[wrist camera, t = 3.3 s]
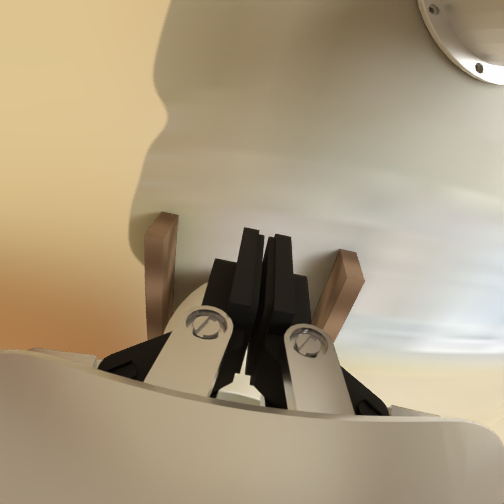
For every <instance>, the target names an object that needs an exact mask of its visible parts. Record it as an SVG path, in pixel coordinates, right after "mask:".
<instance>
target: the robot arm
mask: <svg viewBox="0 0 504 504" xmlns="http://www.w3.org/2000/svg"><path fill="white" fill-rule="evenodd" d="M417 2H418V7H419V10H420V12H421V15H422V18H423V20H424V23H425V25H426V27H427V28H428V30H429V32H430V34H431V36H432V38H433V39H434V40H435V42H436V43H437V45H438V46H439V47H440V49H441V50H442V51H443V52H444V53H445V55H446V56H447V57H448V58H449V59H450V60H451V61H452V62H453V63H454V64H455V65H457V66H458V67H459V68H460V69H461V70H462V71H464V72H466V73H467V74H469V75H470V76H472V77H474V78H476V79H478V80H481V81H484V82H486V83H491V84H495V85H504V0H417ZM429 8H430V9H431V11H432V13H430V11H429ZM475 67H476V69H475ZM263 248H264V235H260V234H259V230H255V229H250V228H245V227H244V231H243V236H242V241H241V246H240V251H239V256H238V261H237V263H236V262H231V261H226V260H221V259H215V261H214V264H213V267H212V271H211V274H210V277H209V281H208V284H207V287H206V291H205V294H204V298H203V301H202V304H201V306H196V307H192V308H190V309H188V310H187V311H185V312H184V314H183V315H182V316H181V318H180V319H179V321H178V323H177V325H176V326H175V328H174V330H173V331H171V332H168V333H166V334H163V335H161V336H158V337H155V338H153V339H150V340H148V341H145V342H143V343H140V344H137V345H135V346H132V347H130V348H127V349H124V350H122V351H119V352H116V353H114V354H111V355H110V356H107V357H106V358H104V359H96V356H95V355H88V354H80V353H71V352H64V351H56V350H50V349H42V348H32V349H29V350H8V349H6V350H0V504H504V445H503V443H502V441H501V440H500V438H499V436H498V435H497V434H496V433H495V432H494V431H492V430H491V429H489V428H488V427H486V426H484V425H481V424H478V423H476V422H473V421H469V420H464V419H459V418H449V417H441V416H438V415H434V414H429V413H424V412H420V411H415V410H411V409H407V408H402V407H398V406H394V405H391V406H390V408H388V407H386V405H385V404H384V403H383V402H382V400H381V399H379V398H378V397H377V396H376V395H375V394H373V393H372V392H371V391H370V390H369V389H367V388H366V387H365V386H364V385H363V384H362V383H360V382H359V381H358V380H357V379H356V378H354V377H353V376H352V375H351V374H350V373H348V372H347V371H346V370H345V369H344V368H343V367H341V366H340V363H339V360H338V357H337V354H336V351H335V348H334V344H333V342H332V340H331V338H330V336H329V335H328V334H327V333H326V332H325V331H323V330H322V329H320V328H319V327H316V326H313V325H311V314H310V303H309V293H308V283H307V277H306V276H302V275H297V274H293V261H292V243H291V237H289V236H285V235H280V234H275V237H269V238H268V242H267V246H266V250H265V254H264V258H263ZM262 259H263V262H262ZM247 347H248V348H247ZM246 350H247V357H246V366H245V375H249V376H250V385H251V386H254V387H255V388H256V389H257V390H258V391H259V392H260V393H261V396H260V406H257V405H250V404H244V403H238V402H232V401H226V400H221V399H217V398H218V395H219V391H220V389H221V388H223V387H225V386H227V385H229V384H230V383H232V382H233V379H234V376H235V373H237V374H240V371H241V368H242V364H243V361H244V357H245V354H246Z"/></svg>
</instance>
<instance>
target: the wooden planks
mask: <svg viewBox="0 0 504 504" xmlns="http://www.w3.org/2000/svg"><path fill="white" fill-rule="evenodd" d="M177 225H178V215H175V214H170V213H165V212H161V214H160V215H159V216H158V218H157V219H156V220H155V222H154V223H153V225H152V226H151V227H150V229H149V230H148V232H147V233H146V234H145V296H146V319H147V335H148V340H150V339H153V338H155V337H158V336H161V335H163V334H164V331H165V329H166V326H167V324H168V322H169V321H170V319H171V317H172V316H173V292H174V271H175V254H176V239H177ZM364 282H365V280H364V277H363V273H362V270H361V267H360V264H359V260H358V257H357V254H356V253H355V252H351V251H346V250H342V249H340V251H339V254H338V256H337V259H336V261H335V264H334V266H333V269H332V271H331V274H330V276H329V279H328V281H327V284H326V286H325V289H324V291H323V294H322V296H321V298H320V301H319V303H318V305H317V308H316V310H315V312H314V315H313V317H312V319H311V325H313V326H316V327H319V328H320V329H322V330H323V331H325V332H326V333H327V334H328V335H329V336H330V338H331V340H332V342H333V343H334V341H335V339H336V337H337V335H338V333H339V331H340V330H341V328H342V326H343V324H344V322H345V320H346V318H347V316H348V314H349V312H350V310H351V308H352V306H353V304H354V302H355V300H356V298H357V296H358V294H359V292H360V290H361V288H362V286H363V284H364Z"/></svg>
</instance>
